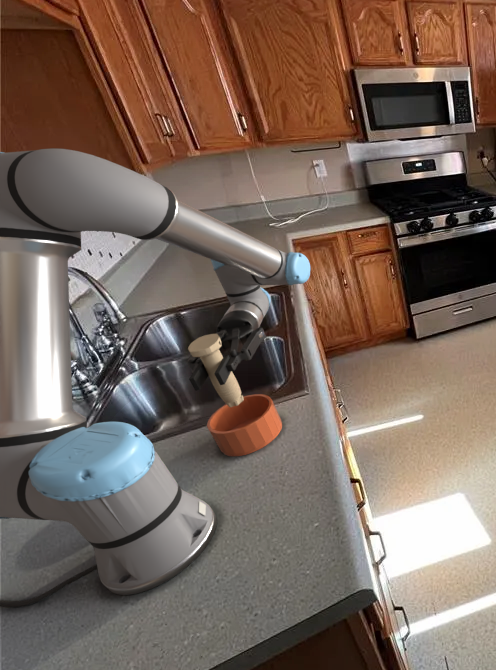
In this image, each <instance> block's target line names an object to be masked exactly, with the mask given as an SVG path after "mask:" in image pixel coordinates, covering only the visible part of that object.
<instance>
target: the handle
mask: <svg viewBox="0 0 496 670" xmlns="http://www.w3.org/2000/svg"><path fill="white" fill-rule="evenodd" d="M220 347H221V340H220V338H219V336H218V334H216V333H210V334H205V335H203V336H199V337H197V338H196V339H194V340H193V341H192V342H191V343H190V344H189V346H188V348H187V350H188V352H189V353H190V355H192V356H193V357H200V358H201V360H202V362H203V364H204V366H205V368H206V371H207V373H208V377H209V379H210V382H211V384H212V386H213V388H214V389H215V391H216V393H217V394H218V396H219V397H220V398H221V400H222V401H223V402H224V403H225V404H226V405H228V406H229V407H233V406H238V405H239V404H240V403H241V402H243V400H244V398H243V397H244V395H243V394H242V390H241V387H240V384H239V382H238V380H237V378H236V376H235V375H234V373H233V371H231V373H230V375H229V377H228V379H227V381H226V383H225V384H224V385H220V384H219V382H218V380H217V378H216V376H215V374H214V373H215V371H216V370H217V368H218V366H219V365H220V363H221V361H222V359H223V358H224V356H223V354H221V353H220V351H219V348H220Z"/></svg>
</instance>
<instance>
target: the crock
mask: <svg viewBox="0 0 496 670" xmlns="http://www.w3.org/2000/svg"><path fill="white" fill-rule="evenodd" d="M243 398H244V400H243V402H241V403H240V404H239V405H238V406H233V407H229V406H228V405H226V403H225V404H224V405H222V406H221V407H219V408H218V409H217V410H215V412H213V413H212V414H211V416H209V418H208V420H207V424H206V428H207V429H208V432H209V433H210V435H211V436H212V438H213V440H214V442H215V444H216V445H217V447H218V448H219V450H220V452H221V453H222V454H223V455H225V456H228V457H241V456H246V455H249V454H250V455H251V454H252V453H254V452H257V451H259V450H261V449H263V448H264V447H266V446H267V445H270V443H272V442H273V441H274V440H275V439H276V438H277V437H278V435H279V434H280V433H281V431H282V428H283V421H282V419H281V417H280V414H279V412H278V410H277V408H276V406H275V403H274V401H273V399H272V398H271V397H270V396H269V395H267V394H264V393H255V394H249V395H243Z"/></svg>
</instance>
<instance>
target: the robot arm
mask: <svg viewBox="0 0 496 670" xmlns="http://www.w3.org/2000/svg"><path fill="white" fill-rule="evenodd" d="M175 194H176V193H174V192H173V190H171V189H170V188H168V187H167V186H165V185H163V184H161V183H160V182H157V181H155V180H154V179H152V178H150V177H147V176H145V175H143V174H141V173H139V172H137V171H134V170H131V169H130V168H127V167H125V166H123V165H120V164H118V163H115V162H112V161H111V160H108V159H105V158H102V157H99V156H96V155H93V154H90V153H86V152H82V151H78V150H74V149H73V150H72V149H67V148H41V149H35V150H34V149H33V150H22V151H9V152H3V151H0V519H1V520H2V519H3V520H4V519H5V520H9V519H21V520H24V519H25V520H37V521H52V522H53V521H54V522H65V523H67V524H70V525H71V526H73V527H74V528H75V529H76V530H77V532H78V533H79V534H80V535H81V536H82V537H83V538H84V539H85V540H86V541H87V543H89V544H90V545H91V546H92V547H93V552H94V557H95V558H94V559H95V563H96V564H94V565H92V566H91V567H88V568H87V569H85V570H82V571H81V572H79V573H77V574H75V575H73V576H71V577H69V578H67V579H66V580H64V581H61V583H59V584H57V585H55V586H54V587H52V588H51V589H49V590H47V591H45V592H44V593H41V594H39V595H37V596H35V597H32V598H29V599H24V600H6V599H5V600H4V599H2V600H1V599H0V607H5V608H18V607H25V606H29V605H32V604H35V603H38V602H40V601H42V600H44V599H47V598H48V597H50V596H52V595H53V594H55V593H57V592H58V591H60V590H62V589H63V588H65V587H66V586H68V585H70V584H72V583H74V582H76V581H78V580H79V579H82V578H83V577H85V576H87V575H89V574H91V573H93V572H95V571H96V570H97V573H98V577H99V580H100V582H101V583H102V585H103V586H104V587H105V588H106V589H108V591H110V592H111V593H113V594H116V595H121V596H126V595H127V596H129V595H136V594H139V593H143V592H146V591H149V590H152V589H154V588H156V587H158V586H160V585H163V584H165V583H166V582H168V581H169V580H172V579H173V578H174V577H176V576H177V575H179V574H180V573H181V572H183V571H184V570H185V569H186V568H188V567H189V566H190V565H191V564H192V563H193V562H194V561H195V560H196V559H197V558H198V557H199V556H200V555H201V554H202V553H203V552H204V551H205V549H206V548H207V546H209V544H210V543H211V540H212V539H213V537H214V535H215V532H216V529H217V524H218V518H217V515H216V513H215V512H214V509H213V508H212V507H211V505H210V504H209V503H207V502H205V501H204V500H202V499H201V498H199V497H197V496H195V495H193V494H191V493H190V492H188V491H185V490H184V489H182V488H181V486H180V485H179V483H178V482H177V481H176V479H175V477H174V476H173V475H172V473H171V471H170V470H169V469H168V467H167V466H166V464H165V463H164V461H163V460H162V459H161V456H160V455H159V454H158V452H157V451H156V450H155V447H154V444H153V443H152V442H151V440H150V439H149V438H148V437H147V436H146V435H144V434H143V432H141V430H140V429H139V428H138V427H136V426H135V425H133V424H131V423H126V422H122V421H103V422H96V423H93V424H91V425H90V426H88V425H87V423H88V422H87V417H86V416H84V415H82V414H81V413H79V411H76V410H74V409H73V383H72V380H73V379H72V351H71V350H72V349H71V347H72V346H71V319H70V286H69V283H70V282H69V259H70V258H71V257H73V256H74V255H76V254H78V253H79V252H80V251H82V232H103V233H104V232H107V233H116V234H121V235H125V236H129V237H133V238H135V239H138V240H141V241H152V240H155V239H156V240H158V241H160V242H164V243H166V244H168V245H171V246H174V247H177V248H180V249H182V250H185V251H188V252H191V253H193V254H195V255H198V256H201V257H204V258H206V259H209V260H210V261H211V264H212V267H213V271H214V272H215V274H216V276H217V278H218V281H219V283H220V285H221V286H222V288H223V291H224V292H225V295H226V297H227V300H228V302H229V304H230V306H229V307H228V309H227V310H226V311H225V313H224V315H223V316H222V318H221V319H220V321H219V322H218V324H217V327H216V331H215V334H218V336H219V338H220V340H221V347H220V348H219V351H220V353H221V354H222V355H223V354H225V355H224V356H223V359H222V361H221V363H220V365H219V366H218V368H217V370H216V371H215V373H214V374H215V376H216V378H217V380H218V382H219V384H220V385H224V384H225V383H226V381H227V379H228V377H229V375H230V373H231V371H232V372H233V371H235V370H236V369H237V368H238V366H239V364H241V363H242V361H246V362H247V361H251V360H252V358H253V357H254V356H255V353H256V352H257V350H258V348H259V346H260V345H261V343H262V342H263V341H264V340H265V339H266V338H267V336H266V333H265V330H264V328H263V326H261V324H262V322H263V321H264V319H265V316H266V315H267V314H268V312H269V311H270V306H271V301H272V300H271V295H270V293H269V292H268V291H267V290H266V289H264V288H263V287H261V286H294V285H302V284H304V283H306V282H307V281H309V278H310V276H311V264H310V261H309V258H308V257H307V256H306V255H305V254H303V253H301V252H294V251H289V252H284V251H282V250H280V249H278V248H276V247H274V246H271V245H270V244H267V243H266V242H264V241H262V240H260V239H257V238H256V237H253V236H252V235H250V234H247V233H246V232H243V231H241V230H239V229H238V228H236V227H233V226H231V225H230V224H227V223H226V222H223V221H222V220H219V219H218V218H215V217H213V216H211V215H209V214H207V213H205V212H203V211H201V210H200V209H197V208H196V207H193V206H191V205H190V204H187V203H186V202H183V201H181V200H179V199H177V196H176V195H175ZM229 349H230V350H229ZM227 352H228V354H226V353H227ZM186 362H187V364H188V366H189V368H190V370H191V371H190V372H191V375H190V377H189V379H188V381H189V382H190V384H191V385H192V387H193V389H194V391H200V390H201V389H202V387H203V386H204V385H205V382H206V380H207V379H208V377H209V375H208V373H207V371H206V368H205V366H204V364H203V362H202V360H201V358H200V357H193V356H192V355H191V354H190V355H189V358H187V361H186Z"/></svg>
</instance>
